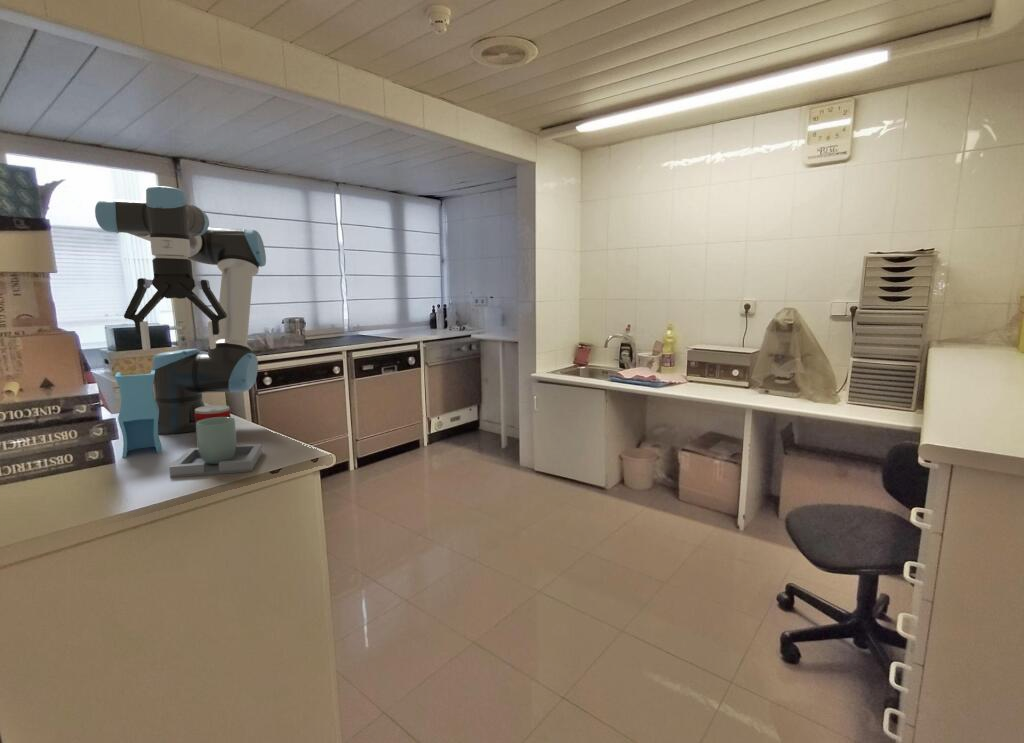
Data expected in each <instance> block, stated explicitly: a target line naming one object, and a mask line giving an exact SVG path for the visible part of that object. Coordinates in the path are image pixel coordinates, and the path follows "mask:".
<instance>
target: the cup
mask: <svg viewBox="0 0 1024 743" xmlns="http://www.w3.org/2000/svg"><path fill="white" fill-rule="evenodd" d="M236 428H237V427H236V420H235V418H233V417H232V416H230V417H214V418H207V419H203V420H199V421H197V422H196V431H195V432H197V435H196V444H197V443H198V447H197V448H198V450H199V454H200V457H201V459H202V460H203V461H204V462H205V463H207V464H213V465H214V464H219V462H220V461H230V460H231V459H232V458H233V457H234V455H235V452H236V445H237V429H236Z"/></svg>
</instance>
